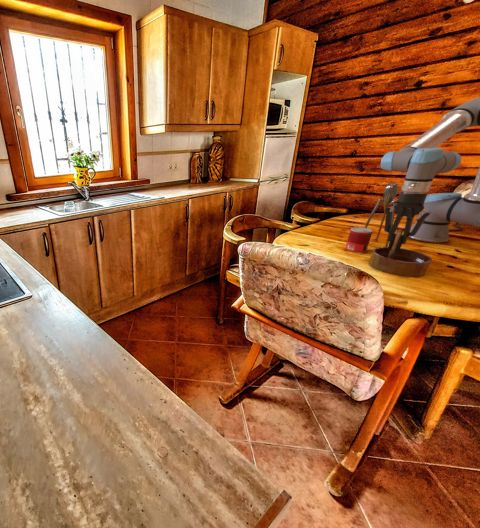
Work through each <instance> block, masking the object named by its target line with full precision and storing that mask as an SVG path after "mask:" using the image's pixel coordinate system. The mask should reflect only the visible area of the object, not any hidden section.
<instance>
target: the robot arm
mask: <svg viewBox="0 0 480 528" xmlns="http://www.w3.org/2000/svg"><path fill="white" fill-rule="evenodd" d="M472 127H480V96H478V97H475V98H473V99H470V100H468V101H466V102H464V103H462V104H459V105H458V106H456V107H454V108H453V109H451V110H450V111H448V112H447V113H445V114H444V115H443V116H442V117H441V120H440V121H439V122H437V123H436V124H434V125H433V126H431V127H430V128H429V129H427V130H425V132H423V133H422V134H421V135H419V136H418V137H417V138H415V139H413V140H412V141H411V142H410V143H408V144H407V145H405V146H404V147H403V148H401V149H399V150H398V151H395V150H394V151H389V152H386V153H385V154H384V155H383V156H382V158H381V160H380V168H381V169H382V170H383V171H388V172H403V173H405V172H406V175H405V177H404V180H403V183H402V186H401V188H400V191H401V192H399V195H398V198H397V200H396V202H395V205H394V206H392V205H391V206H388V207H387V208H385V211H386V215H385V219H384V229H383V231H384V232H385V233H389V236H388V235H387V238H388V239H387V238H386V242H387V241H389V243H388V246H387V247H388V249H387V250H390V249H391V247H392V244H393V241H394V238H395V235H396V232H397V230H398V228H399V226H400V224H401V221H402V219H403V217H406V221H405V225H404V230H403V233H402V236H400V238H399V241H398V244H397V246H396V249H395V251H396V252H398V251H399V250H400V248H402V245H405V244H406V243H407V241H408V239H409V240H414V241H417V242H418V241H419V242H423V243H430V244H445V243H447V242H448V241H449V239H450V232H457V231H464V227H463V226H460V225H461V224H462V225H466V226H471V227H479V228H480V165H479V166H478V169H477V172H476V175H475V178H474V181H473V184H472V187H471V190H470V192H468V193H465V194H464V195H463V194H462V193H459V192H439V193H438V192H437V193H430V194H428V192H429V191H430V189H431V186H432V184H433V180H434V178H435V176H436V175H437V174H438V175H439V174H446V173H449V172H453V171H454V170H456V169H457V168H458V167H459V166H460V165H461V163H462V157H461V154H460V153H458V152H456V151H444V148H442V147H439V146H440V145H441V144H442V143H444V142H445V141H447V140H449V138H452V136H454V135H456V133H460V132H462V131H465V130H466V129H468V128H472ZM394 209H395V213H396V214H397V215H396V217H395V218H394V221H393V226H392V228H391V221H392V212H393V211H394ZM416 215H418V216H417V217H416V221H415V223H414V224H413V222H414V218H415V216H416ZM450 223H454V224H453V225H454V227H457V228H452V229H449V226H450ZM459 224H460V225H459ZM390 228H391V229H390Z"/></svg>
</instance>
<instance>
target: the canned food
mask: <svg viewBox="0 0 480 528" xmlns="http://www.w3.org/2000/svg"><path fill="white" fill-rule="evenodd" d="M372 234H373V230H372V229H371V228H368V227H367V228H364V227H362V226H361V227H360V226H354V227H351V228H350V231H349V234H348V238H347V241H346V245H345V251H348V252H351V253H358V254H363V253H366V252H367V250H368V247H369V244H370V241H371V239H372Z"/></svg>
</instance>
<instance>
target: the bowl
mask: <svg viewBox="0 0 480 528" xmlns="http://www.w3.org/2000/svg"><path fill="white" fill-rule="evenodd" d="M387 249H388V246H387V247H385V246H380V247H379V246H377V247H374V248H373V249H372V250H371V254H370V257H369V259H368V266H370V267H372V268H373V269H375V270H377V271H380V272H382V273H387V274H389V275H394V276H400V277H408V278H409V277H410V278H417V277H418V278H420V277H424V276H426V275H427V273H428V271H429V269H430V267H431V264H432V263H433V259H432V257H431V256H430V255H427V254H425V253H424V252H419V251H416V250H414V249H408V248H403V247H401V248H400V250H399V251H398V252H396V253H395V255H394V258H393V259H389V258H388V255H389V252H390V250H387Z"/></svg>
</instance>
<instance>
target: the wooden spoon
mask: <svg viewBox="0 0 480 528" xmlns="http://www.w3.org/2000/svg"><path fill="white" fill-rule="evenodd" d="M395 234H396V235H395V238H394V241H393V244H392V247H391V249H390V252H389V255H388V258H389V259H393V258H394V255H395V253H396V251H395V249H396V246H397V244H398V241H399V238H400V236H402V235H403V234H404V230H403V229H400V228H399V229H397V230H396V232H395Z"/></svg>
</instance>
